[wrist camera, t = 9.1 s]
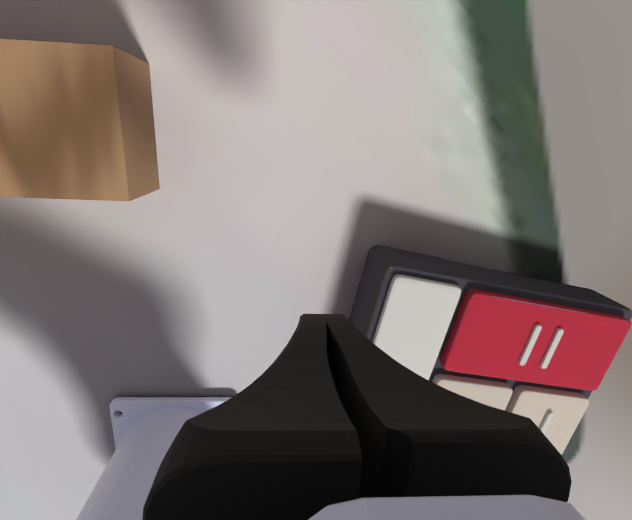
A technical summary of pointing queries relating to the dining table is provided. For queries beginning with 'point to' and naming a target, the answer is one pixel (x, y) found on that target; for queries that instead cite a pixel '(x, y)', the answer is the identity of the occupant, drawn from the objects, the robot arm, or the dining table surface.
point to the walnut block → (75, 122)
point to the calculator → (492, 334)
